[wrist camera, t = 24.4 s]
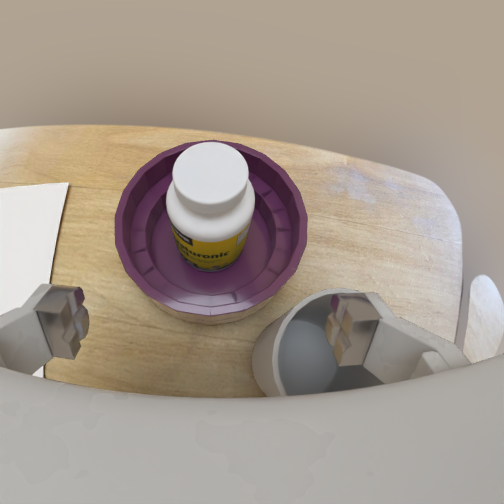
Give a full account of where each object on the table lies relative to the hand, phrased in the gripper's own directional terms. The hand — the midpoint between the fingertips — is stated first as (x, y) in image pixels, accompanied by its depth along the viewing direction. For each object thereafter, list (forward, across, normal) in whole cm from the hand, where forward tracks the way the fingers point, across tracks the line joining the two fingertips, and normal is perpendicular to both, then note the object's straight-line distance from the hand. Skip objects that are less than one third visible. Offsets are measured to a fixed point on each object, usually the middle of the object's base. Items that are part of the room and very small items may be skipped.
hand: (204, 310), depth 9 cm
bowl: (+15, 0, +4) cm, 16 cm away
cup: (+8, -7, +12) cm, 16 cm away
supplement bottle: (+15, 0, +4) cm, 16 cm away
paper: (+11, +22, +9) cm, 26 cm away
